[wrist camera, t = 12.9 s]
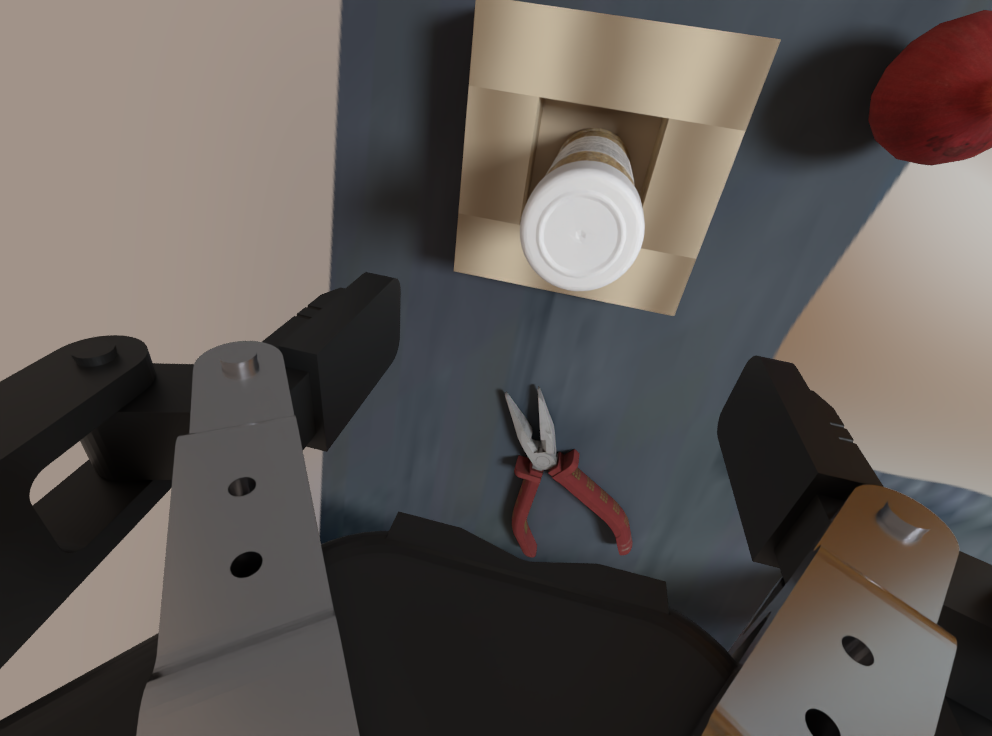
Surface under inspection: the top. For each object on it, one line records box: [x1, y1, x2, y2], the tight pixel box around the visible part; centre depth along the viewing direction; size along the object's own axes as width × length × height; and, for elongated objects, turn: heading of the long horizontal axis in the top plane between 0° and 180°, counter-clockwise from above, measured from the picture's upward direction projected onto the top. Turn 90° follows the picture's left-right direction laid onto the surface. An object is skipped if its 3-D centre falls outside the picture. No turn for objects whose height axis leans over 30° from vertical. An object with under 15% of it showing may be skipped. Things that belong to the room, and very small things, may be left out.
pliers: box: [505, 387, 632, 557], centre depth 43 cm, size 11×20×3 cm, turn 18°
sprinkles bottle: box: [520, 128, 645, 291], centre depth 23 cm, size 5×5×14 cm
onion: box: [868, 10, 992, 165], centre depth 21 cm, size 6×6×8 cm
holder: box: [454, 0, 781, 316], centre depth 27 cm, size 14×14×4 cm
